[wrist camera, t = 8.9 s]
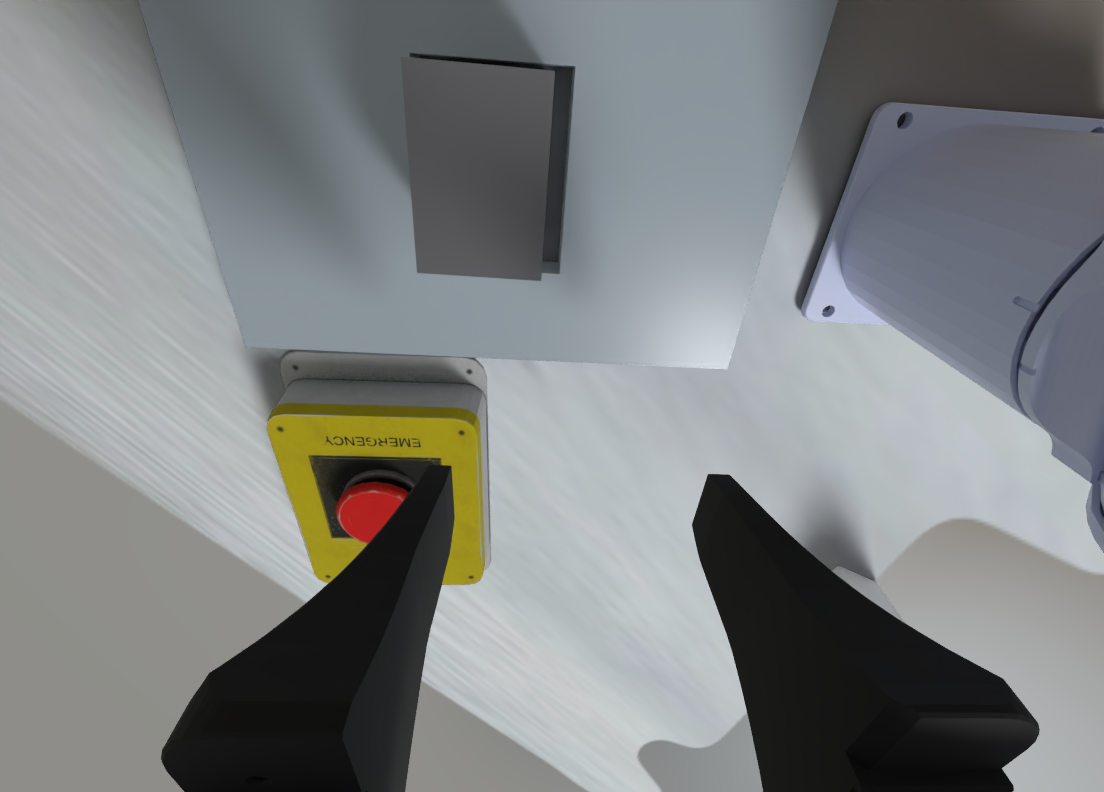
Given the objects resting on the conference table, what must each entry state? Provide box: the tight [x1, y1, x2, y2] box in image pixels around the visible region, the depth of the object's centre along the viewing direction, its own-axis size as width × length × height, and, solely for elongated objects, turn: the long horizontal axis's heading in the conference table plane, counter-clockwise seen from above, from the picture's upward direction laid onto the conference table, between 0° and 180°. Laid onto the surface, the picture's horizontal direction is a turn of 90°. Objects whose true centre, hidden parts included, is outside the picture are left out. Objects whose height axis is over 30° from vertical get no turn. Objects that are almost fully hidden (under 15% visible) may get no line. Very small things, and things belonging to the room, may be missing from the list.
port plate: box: [138, 0, 839, 369], centre depth 17 cm, size 20×14×2 cm
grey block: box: [401, 57, 555, 281], centre depth 15 cm, size 4×5×6 cm
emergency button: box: [267, 350, 491, 585], centre depth 24 cm, size 9×4×15 cm
